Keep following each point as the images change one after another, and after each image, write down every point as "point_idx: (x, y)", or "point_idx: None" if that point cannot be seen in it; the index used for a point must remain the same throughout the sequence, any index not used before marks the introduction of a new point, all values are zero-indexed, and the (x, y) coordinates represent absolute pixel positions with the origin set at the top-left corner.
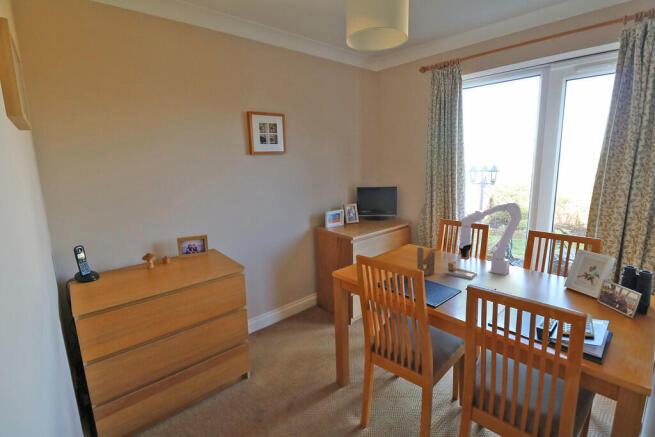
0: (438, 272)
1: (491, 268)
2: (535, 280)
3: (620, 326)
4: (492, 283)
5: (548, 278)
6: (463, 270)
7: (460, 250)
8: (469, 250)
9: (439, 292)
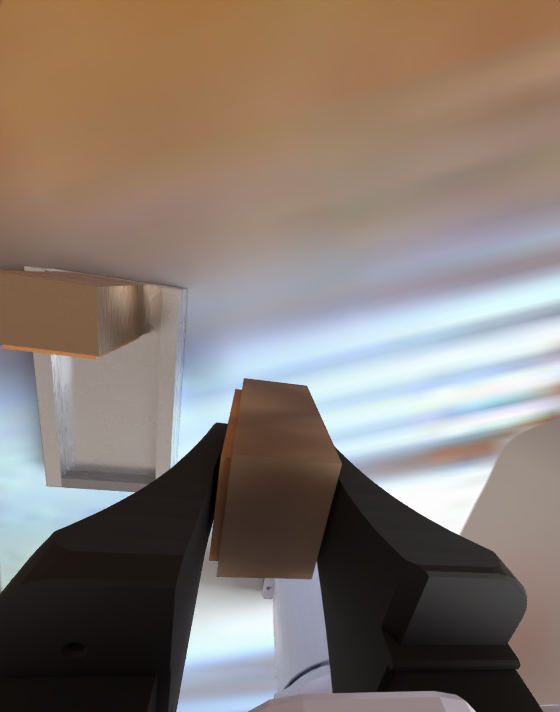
0: (25, 179)
1: None
2: (263, 681)
3: None
4: None
5: None
6: (159, 398)
7: (150, 483)
8: (305, 576)
9: None
